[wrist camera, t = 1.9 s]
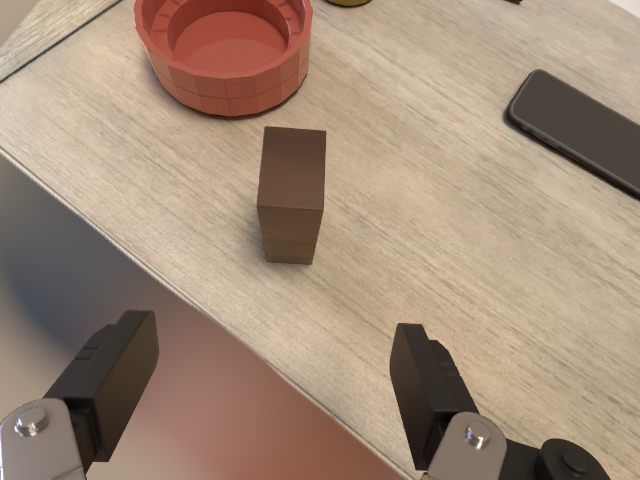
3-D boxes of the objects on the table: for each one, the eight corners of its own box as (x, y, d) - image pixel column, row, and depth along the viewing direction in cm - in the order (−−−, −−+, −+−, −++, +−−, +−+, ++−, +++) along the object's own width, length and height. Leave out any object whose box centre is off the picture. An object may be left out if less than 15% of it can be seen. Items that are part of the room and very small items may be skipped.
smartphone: (657, 203, 33) (505, 112, 34) (647, 207, 34) (500, 119, 35) (679, 145, 35) (536, 63, 37) (669, 151, 36) (530, 70, 38)
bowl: (195, 144, 32) (179, 104, 27) (130, 31, 36) (106, -22, 31) (336, 84, 35) (344, 39, 31) (264, -14, 39) (261, -67, 34)
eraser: (311, 264, 29) (323, 210, 20) (266, 261, 29) (256, 206, 20) (314, 205, 31) (326, 130, 22) (271, 203, 31) (264, 125, 21)
